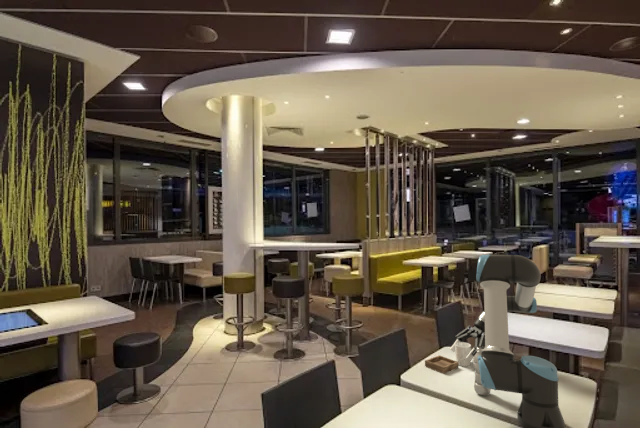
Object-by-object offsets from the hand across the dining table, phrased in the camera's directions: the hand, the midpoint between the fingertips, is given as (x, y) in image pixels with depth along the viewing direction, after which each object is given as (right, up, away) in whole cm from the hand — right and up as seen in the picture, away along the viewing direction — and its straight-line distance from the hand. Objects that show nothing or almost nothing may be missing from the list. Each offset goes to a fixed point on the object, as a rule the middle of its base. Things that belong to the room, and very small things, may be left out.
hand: (459, 355), depth 196 cm
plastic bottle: (-2, -5, -32) cm, 32 cm away
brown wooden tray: (-10, -5, -3) cm, 12 cm away
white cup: (+2, -5, 0) cm, 5 cm away
